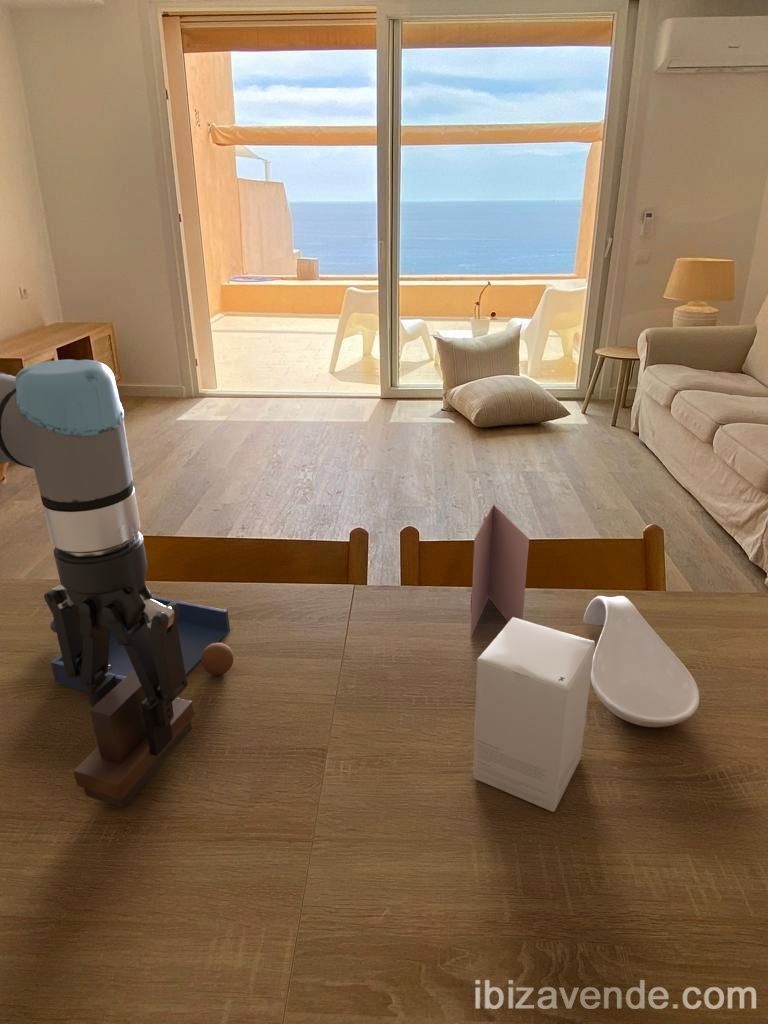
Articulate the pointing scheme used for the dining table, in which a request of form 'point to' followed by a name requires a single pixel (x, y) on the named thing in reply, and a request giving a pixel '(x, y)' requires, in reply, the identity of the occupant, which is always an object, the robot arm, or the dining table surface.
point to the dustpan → (193, 628)
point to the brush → (126, 744)
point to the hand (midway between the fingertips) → (137, 739)
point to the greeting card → (499, 567)
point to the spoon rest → (637, 668)
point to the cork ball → (217, 658)
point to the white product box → (531, 711)
